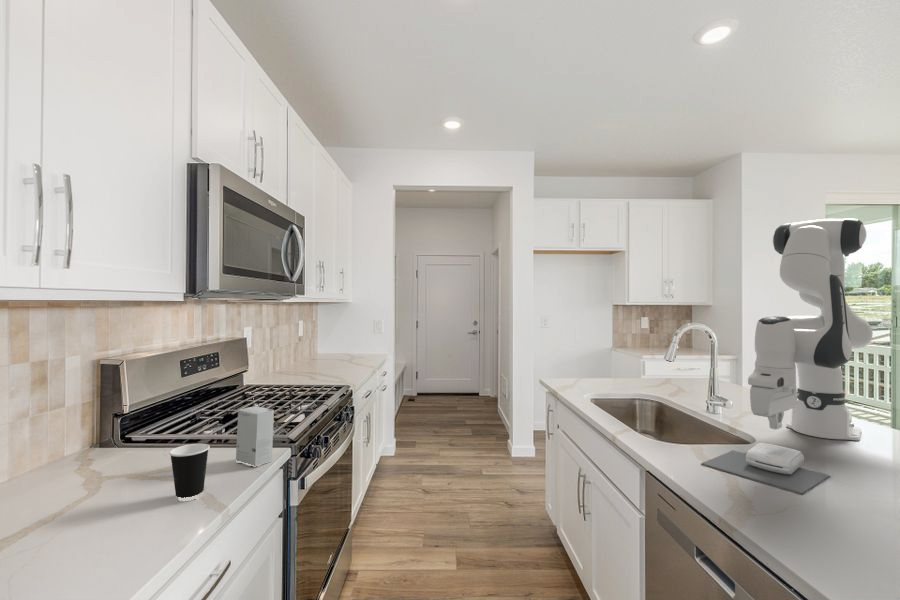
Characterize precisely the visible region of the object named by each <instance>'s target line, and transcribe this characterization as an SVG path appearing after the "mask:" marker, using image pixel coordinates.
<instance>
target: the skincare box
mask: <svg viewBox="0 0 900 600" xmlns="http://www.w3.org/2000/svg"><path fill="white" fill-rule="evenodd" d="M274 414H275V410H274V409H272V408H266V407H262V406H261V407H260V406H255V405H253V406H250V407H249V406H248V407H245V408H240V409H237V428H236V430H237V431H236V432H237V433H236V449H235V450H236V451H235V461H236V460H237V461H241V462H244V463H248V464H251V465H254V466H256V465H259V464H262V463H265V462H269V461H273V443H274V442H273V441H274V422H275V421H274V418H275V417H274V416H275V415H274Z"/></svg>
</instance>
